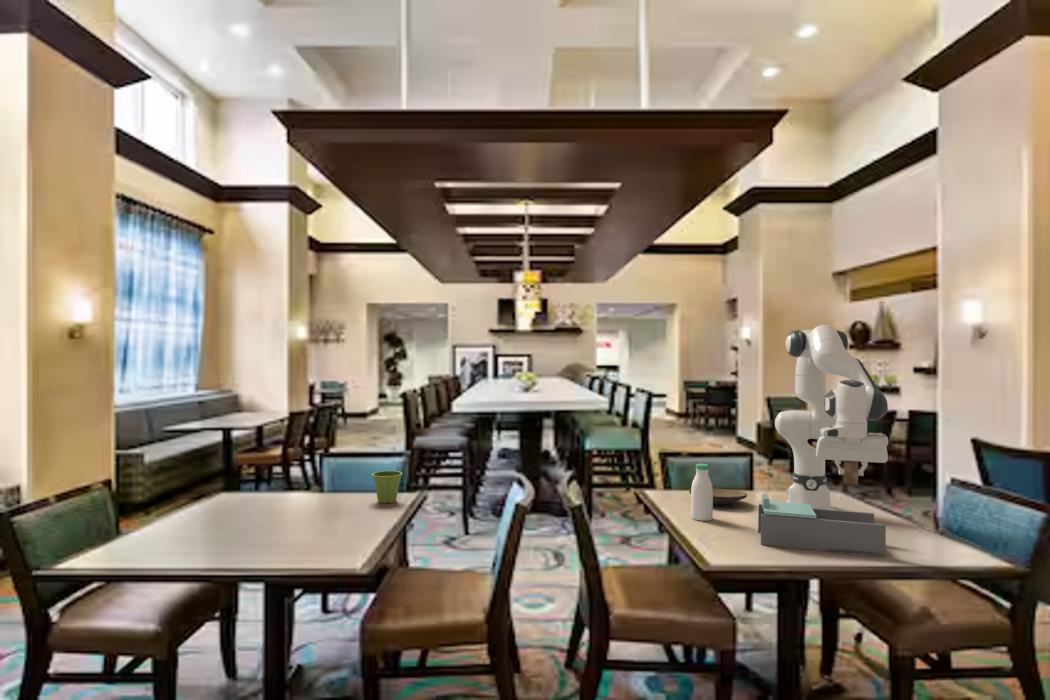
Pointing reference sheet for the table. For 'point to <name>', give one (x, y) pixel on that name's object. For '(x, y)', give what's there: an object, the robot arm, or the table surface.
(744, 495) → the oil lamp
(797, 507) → the lid
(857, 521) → the housing
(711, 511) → the milk bottle
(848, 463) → the tan rounded cylinder
